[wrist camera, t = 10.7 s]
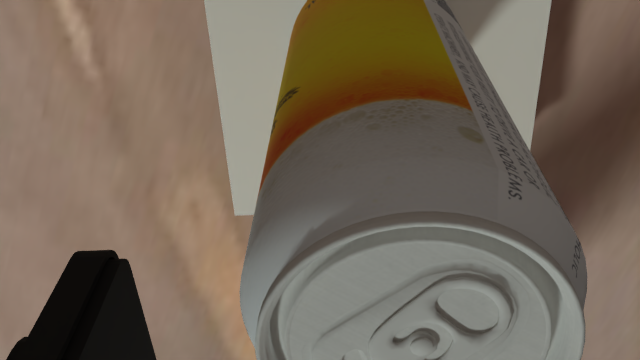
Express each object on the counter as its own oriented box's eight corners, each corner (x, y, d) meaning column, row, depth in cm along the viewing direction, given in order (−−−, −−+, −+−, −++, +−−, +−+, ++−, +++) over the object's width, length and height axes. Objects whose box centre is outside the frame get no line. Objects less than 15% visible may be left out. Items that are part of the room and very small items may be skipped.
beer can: (258, 51, 23) (156, 360, 10) (371, -79, 20) (427, 113, 8) (373, 148, 25) (411, 508, 12) (490, 40, 22) (690, 349, 10)
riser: (203, -165, 23) (181, -162, 19) (540, -184, 22) (577, -184, 19) (245, 170, 30) (235, 215, 27) (500, 161, 30) (522, 206, 26)
